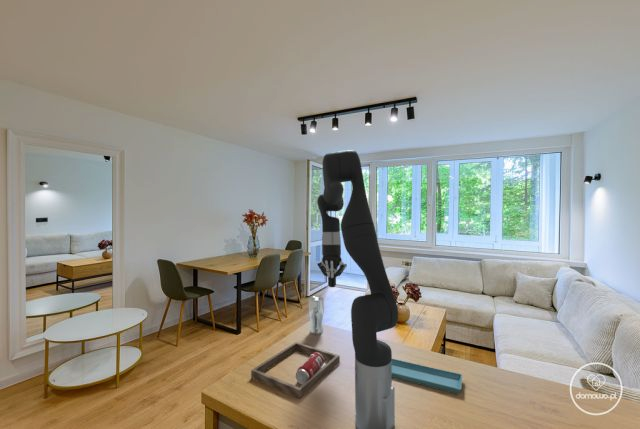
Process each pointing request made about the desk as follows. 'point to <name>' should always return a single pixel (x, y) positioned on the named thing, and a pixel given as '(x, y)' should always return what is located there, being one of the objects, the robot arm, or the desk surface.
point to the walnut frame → (289, 388)
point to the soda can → (309, 367)
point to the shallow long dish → (427, 376)
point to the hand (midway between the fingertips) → (332, 286)
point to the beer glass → (316, 314)
